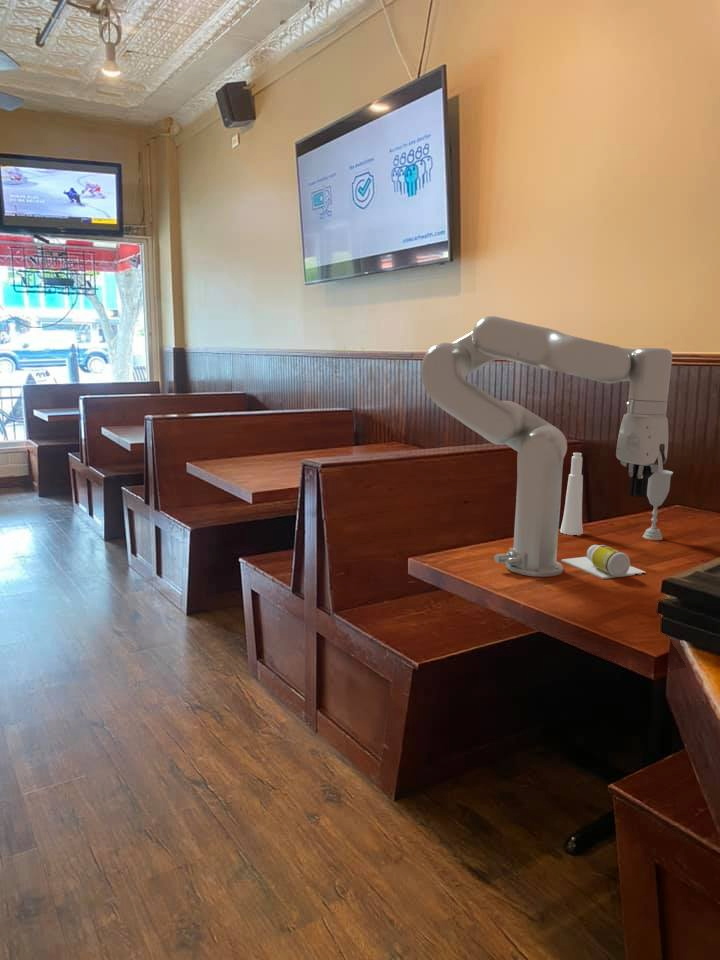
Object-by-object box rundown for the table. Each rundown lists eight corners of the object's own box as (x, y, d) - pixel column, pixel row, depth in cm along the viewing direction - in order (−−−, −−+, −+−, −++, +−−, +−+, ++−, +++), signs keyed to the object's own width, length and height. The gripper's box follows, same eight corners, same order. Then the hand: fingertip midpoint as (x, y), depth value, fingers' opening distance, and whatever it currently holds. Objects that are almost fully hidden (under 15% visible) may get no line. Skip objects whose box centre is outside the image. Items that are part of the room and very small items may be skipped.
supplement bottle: (617, 549, 150) (591, 537, 159) (605, 570, 150) (579, 558, 159) (635, 559, 151) (608, 548, 161) (623, 581, 152) (596, 568, 161)
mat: (602, 579, 151) (602, 577, 151) (561, 561, 164) (561, 559, 164) (645, 573, 156) (645, 571, 156) (601, 556, 168) (601, 554, 168)
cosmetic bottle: (587, 535, 188) (593, 454, 184) (567, 536, 187) (573, 454, 183) (575, 529, 194) (581, 451, 190) (555, 530, 193) (561, 451, 189)
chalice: (669, 541, 183) (676, 474, 180) (642, 540, 184) (648, 473, 181) (662, 534, 190) (668, 469, 187) (636, 533, 191) (642, 468, 188)
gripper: (606, 406, 149) (599, 490, 152) (661, 412, 135) (651, 504, 139) (634, 406, 152) (625, 488, 155) (689, 412, 138) (679, 502, 142)
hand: (637, 496), depth 147 cm, fingers closed
